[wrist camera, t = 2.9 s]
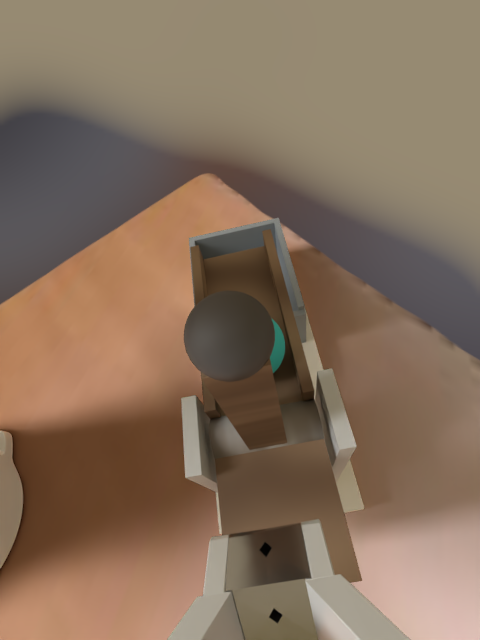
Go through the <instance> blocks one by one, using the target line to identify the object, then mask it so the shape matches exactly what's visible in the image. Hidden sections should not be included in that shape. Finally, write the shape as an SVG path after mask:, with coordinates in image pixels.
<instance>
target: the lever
mask: <svg viewBox="0 0 480 640" xmlns="http://www.w3.org/2000/svg"><path fill="white" fill-rule="evenodd" d="M262 233H263V240H264V246H262V247H257V248H253V249H248V250H244V251H239V252H235V253H230V254H226V255H221V256H217V257H212V258H208V259H203V256H202V254H201V251H200V248H199V246H198V245H197V246H193V247H190V251H191V262H192V274H193V286H194V297H195V307H194V308H193V310H192V311H191V313H190V314H189V316H188V318H187V321H186V324H185V329H184V343H185V348H186V351H187V354H188V356H189V358H190V360H191V361H192V363H193V364H194V365H195V366H196V368H197V369H198V370H199V371H201V379H202V390H203V402H204V412H205V413H206V414H207V416H208V417H209V418H210V423H209V432H210V441H211V447H212V452H213V455H214V458H215V467H216V477H217V488H218V498H219V509H220V519H221V529H222V535H230V534H233V533H240V532H247V531H255V530H262V529H267V528H272V527H278V526H284V525H289V524H295V523H301V522H305V521H310V520H316V519H319V520H320V522H321V525H322V529H323V532H324V536H325V540H326V544H327V547H328V551H329V555H330V558H331V562H332V566H333V570H334V573H335V575H338V574H341V575H342V576H343V577H344V578H345V579H347V580H348V581H349V582H350V583H351V582H357V581H362V578H361V574H360V571H359V567H358V563H357V559H356V556H355V552H354V548H353V545H352V541H351V537H350V533H349V530H348V526H347V522H346V518H345V515H344V511H343V507H342V503H341V500H340V496H339V492H338V488H337V485H336V481H335V477H334V473H333V470H332V466H331V462H330V458H329V455H328V451H327V447H326V443H325V440H324V434H323V428H322V424H321V419H320V416H319V412H318V408H317V405H316V402H315V400H314V387H313V383H312V379H311V376H310V372H309V368H308V365H307V361H306V357H305V354H304V350H303V346H302V343H301V339H300V335H299V332H298V328H297V324H296V321H295V317H294V313H293V310H292V306H291V302H290V299H289V295H288V291H287V288H286V284H285V280H284V277H283V273H282V269H281V266H280V262H279V258H278V255H277V251H276V247H275V243H274V240H273V236H272V232H271V229H269V230H264V231H262ZM272 319H273V320H274V321H275V322H276V323H277V324H278V326H279V327H280V329H281V331H282V333H283V336H284V340H285V354H284V358H283V360H282V363H281V365H280V366H279V368H278V369H277V370H276V371H275V372H274V373H273V371H272V366H271V361H270V356H271V354H272V351H273V347H274V343H275V330H274V325H273V321H272ZM302 532H303V531H302ZM303 537H304V536H303Z"/></svg>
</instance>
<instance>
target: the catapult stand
mask: <svg viewBox="0 0 480 640" xmlns="http://www.w3.org/2000/svg"><path fill="white" fill-rule="evenodd" d="M305 312H306V309H305ZM302 346H303V350H304V354H305V357H306V361H307V365H308V368H309V372H310V376H311V379H312V383H313V387H314V400H315V402H316V405H317V408H318V412H319V416H320V419H321V424H322V428H323V434H324V440H325V443H326V447H327V451H328V455H329V458H330V462H331V466H332V470H333V473H334V477H335V481H336V485H337V488H338V492H339V496H340V500H341V503H342V507H343V511H344V513H347V512H353V511H359V510H363V509H365V508H364V505H363V501H362V498H361V495H360V491H359V488H358V484H357V481H356V478H355V474H354V471H353V468H352V464H351V461H350V457H351V456H352V454H353V452H354V451H355V449H356V447H357V446H356V442H355V439H354V436H353V433H352V430H351V426H350V423H349V420H348V417H347V414H346V410H345V407H344V404H343V401H342V398H341V395H340V391H339V388H338V385H337V382H336V379H335V375H334V372H333V369H332V368H331V369H326V370H323V367H322V363H321V360H320V356H319V353H318V350H317V346H316V343H315V340H314V336H313V333H312V330H311V326H310V323H309V319H308V316H307V313H306V342H305V343H302ZM181 403H182V423H183V443H184V463H185V478H187V479H189V480H191V481H193V482H195V483H197V484H200V485H202V486H204V487H206V488H208V489H210V490H212V491H215V492H216V502H217V513H218V524H219V534H222V529H221V519H220V509H219V498H218V488H217V477H216V467H215V458H214V455H213V452H212V447H211V441H210V432H209V423H210V418H209V417H208V416H207V414H206V413H205V412H204V405H203V404H202V403H201V401H200V400H199V399H198V398H197V396H196V395H194V396H189V397H184V398H181Z"/></svg>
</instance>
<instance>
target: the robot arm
mask: <svg viewBox="0 0 480 640" xmlns="http://www.w3.org/2000/svg"><path fill="white" fill-rule="evenodd" d="M12 453H13V440H12V435H11V434H10V433H9V432H7V431H1V430H0V568H1V567H2V565H3V563H4V562H5V560H6V558H7V556H8V554H9V552H10V550H11V548H12V546H13V543H14V541H15V538H16V535H17V532H18V529H19V525H20V521H21V516H22V509H23V490H22V484H21V480H20V477H19V474H18V472H17V470H16V467H15V465H14V463H13V459H12ZM302 531H303V532H302ZM303 536H304V537H303ZM167 640H410V639H409V638H408V637H407V636H406V635H405V634H404V633H403V632H402V631H401V630H400V629H399V628H398V627H397V626H395V625H394V624H393V623H392V622H391V621H390V620H389V619H388V618H387V617H386V616H385V615H384V614H383V613H382V612H381V611H380V610H378V609H377V608H376V607H375V606H374V605H373V604H372V603H371V602H370V601H369V600H368V599H367V598H366V597H365V596H364V595H362V594H361V593H360V592H359V591H358V590H357V589H356V588H355V587H354V586H353V585H352V584H351V583H350V582H349V581H348V580H347V579H345V578H344V577H343V576H342V575H341V574H338V575H335V573H334V570H333V566H332V562H331V558H330V555H329V551H328V547H327V544H326V540H325V536H324V532H323V529H322V525H321V522H320V520H319V519H316V520H310V521H305V522H301V523H295V524H289V525H284V526H278V527H272V528H267V529H262V530H255V531H247V532H240V533H233V534H230V535H222V536H215V537H211V540H210V542H209V549H208V558H207V566H206V574H205V582H204V590H203V596H199V597H197V598H196V599H195V601H194V602H193V603H192V605H191V606H190V608H189V609H188V611H187V612H186V613H185V615H184V616H183V618H182V619H181V620H180V622H179V623H178V625H177V626H176V628H175V629H174V630H173V632H172V633H171V635H170V636H169V637H168V639H167Z"/></svg>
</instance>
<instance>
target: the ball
mask: <svg viewBox="0 0 480 640" xmlns="http://www.w3.org/2000/svg"><path fill="white" fill-rule="evenodd" d="M272 321H273V325H274V330H275V343H274V347H273V351H272V354H271V356H270V361H271V366H272V371H273V373H274V372H275V371H276V370H277V369H278V368H279V366H280V365H281V363H282V360H283V358H284V354H285V340H284V336H283V333H282V331H281V329H280V327H279V326H278V324H277V323H276V322H275V321H274V320H273V319H272Z"/></svg>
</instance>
